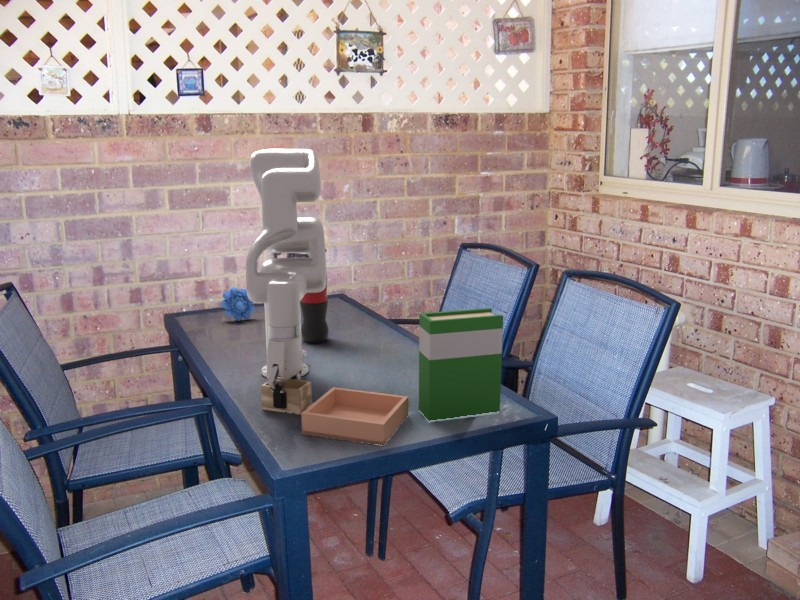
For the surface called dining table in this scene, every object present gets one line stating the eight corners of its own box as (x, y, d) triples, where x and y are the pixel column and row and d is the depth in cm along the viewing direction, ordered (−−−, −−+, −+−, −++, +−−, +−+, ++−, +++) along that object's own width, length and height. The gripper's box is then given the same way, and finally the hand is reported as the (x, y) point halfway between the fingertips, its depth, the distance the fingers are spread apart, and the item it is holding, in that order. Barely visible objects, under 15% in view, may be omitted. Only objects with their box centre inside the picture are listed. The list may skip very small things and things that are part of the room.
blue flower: (224, 325, 247) (222, 291, 244) (220, 320, 253) (218, 286, 250) (258, 322, 251) (257, 287, 248) (254, 317, 257) (252, 283, 254)
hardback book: (487, 402, 180) (490, 307, 174) (499, 414, 173) (503, 315, 167) (418, 410, 175) (419, 313, 169) (428, 422, 168) (430, 321, 162)
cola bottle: (329, 336, 235) (327, 243, 227) (327, 344, 226) (325, 248, 219) (302, 336, 234) (300, 243, 227) (300, 344, 226) (297, 248, 219)
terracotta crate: (333, 406, 177) (332, 387, 176) (408, 416, 171) (408, 396, 170) (302, 434, 161) (301, 413, 160) (383, 446, 156) (383, 424, 154)
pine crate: (275, 399, 182) (274, 376, 180) (311, 404, 178) (311, 381, 177) (262, 409, 176) (261, 385, 174) (300, 414, 172) (299, 390, 171)
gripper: (287, 320, 182) (289, 388, 186) (251, 339, 166) (255, 413, 170) (314, 322, 179) (316, 392, 184) (281, 342, 163) (284, 417, 168)
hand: (287, 401), depth 177 cm, fingers closed on pine crate, 6 cm apart
